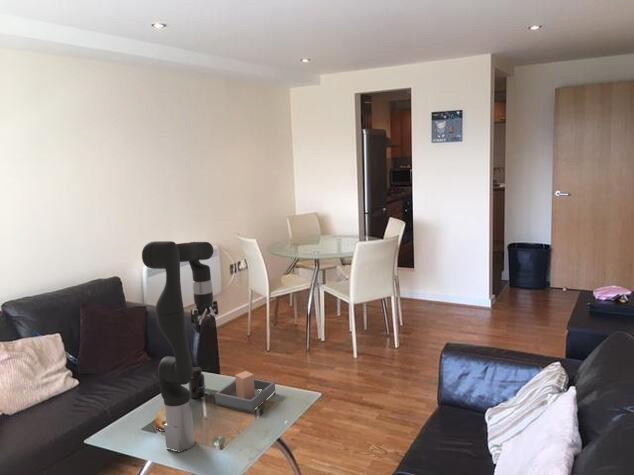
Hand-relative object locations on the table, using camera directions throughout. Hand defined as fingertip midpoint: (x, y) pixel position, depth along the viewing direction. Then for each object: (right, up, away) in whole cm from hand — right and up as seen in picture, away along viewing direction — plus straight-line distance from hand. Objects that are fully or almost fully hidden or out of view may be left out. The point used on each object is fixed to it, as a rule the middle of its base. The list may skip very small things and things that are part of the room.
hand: (206, 329), depth 212 cm
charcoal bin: (+15, -31, +10) cm, 36 cm away
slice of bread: (-14, -35, -2) cm, 38 cm away
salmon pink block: (+15, -30, +10) cm, 35 cm away
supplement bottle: (-7, -31, +16) cm, 36 cm away
